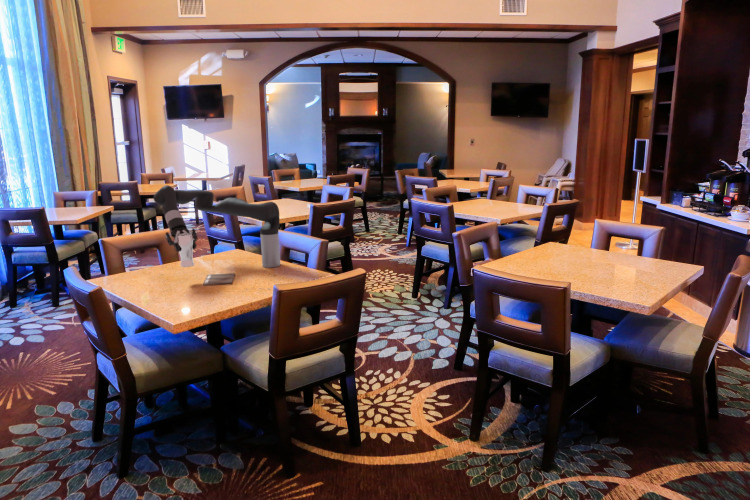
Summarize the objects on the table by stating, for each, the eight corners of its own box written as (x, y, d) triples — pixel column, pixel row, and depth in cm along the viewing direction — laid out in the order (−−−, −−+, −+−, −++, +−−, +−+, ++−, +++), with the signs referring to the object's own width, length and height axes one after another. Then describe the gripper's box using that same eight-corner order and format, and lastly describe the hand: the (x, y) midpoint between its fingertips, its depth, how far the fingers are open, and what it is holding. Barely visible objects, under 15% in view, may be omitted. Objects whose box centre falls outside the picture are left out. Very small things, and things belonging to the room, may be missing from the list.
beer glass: (176, 266, 253) (173, 235, 250) (186, 263, 260) (183, 232, 256) (188, 267, 251) (185, 236, 247) (198, 264, 257) (195, 233, 254)
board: (207, 276, 266) (207, 274, 266) (234, 274, 268) (234, 272, 268) (202, 285, 250) (202, 283, 250) (231, 284, 252) (231, 282, 252)
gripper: (188, 224, 265) (200, 251, 259) (158, 228, 257) (170, 256, 250) (191, 215, 260) (203, 242, 254) (161, 218, 251) (172, 247, 245)
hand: (186, 249), depth 252 cm, fingers closed on beer glass, 7 cm apart
